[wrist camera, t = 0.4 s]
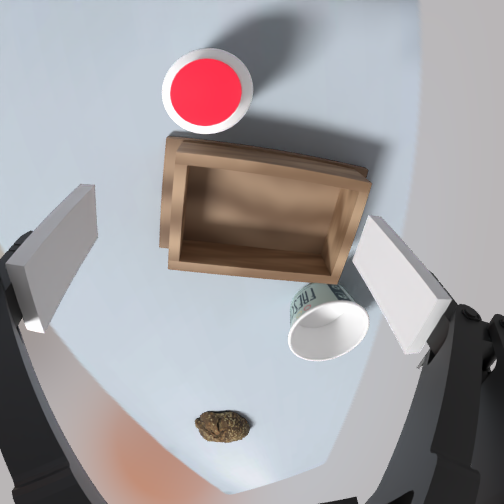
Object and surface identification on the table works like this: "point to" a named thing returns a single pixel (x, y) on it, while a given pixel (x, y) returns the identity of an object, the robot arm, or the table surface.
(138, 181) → the table surface
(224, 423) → the bread roll
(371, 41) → the table surface
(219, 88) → the pill bottle
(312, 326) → the food container
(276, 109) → the table surface
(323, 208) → the tray
